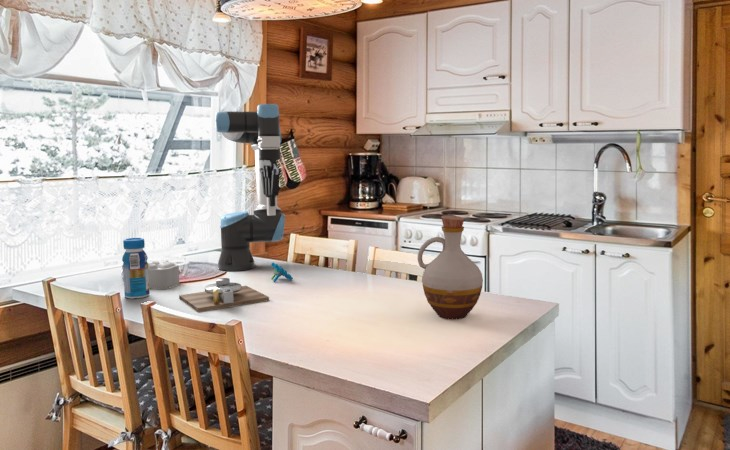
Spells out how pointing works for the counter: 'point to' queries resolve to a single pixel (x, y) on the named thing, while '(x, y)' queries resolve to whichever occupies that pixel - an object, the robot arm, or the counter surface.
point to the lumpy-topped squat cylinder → (163, 274)
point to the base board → (206, 300)
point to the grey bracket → (224, 289)
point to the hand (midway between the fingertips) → (271, 215)
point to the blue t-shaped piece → (279, 272)
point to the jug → (451, 274)
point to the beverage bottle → (135, 269)
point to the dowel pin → (216, 297)
